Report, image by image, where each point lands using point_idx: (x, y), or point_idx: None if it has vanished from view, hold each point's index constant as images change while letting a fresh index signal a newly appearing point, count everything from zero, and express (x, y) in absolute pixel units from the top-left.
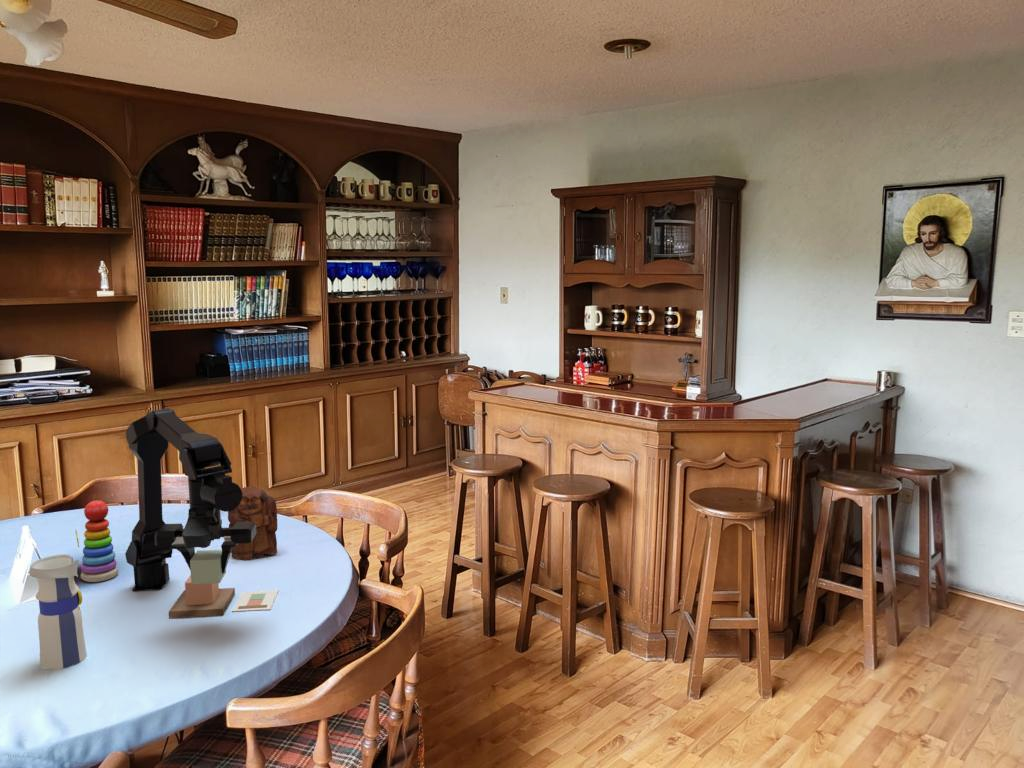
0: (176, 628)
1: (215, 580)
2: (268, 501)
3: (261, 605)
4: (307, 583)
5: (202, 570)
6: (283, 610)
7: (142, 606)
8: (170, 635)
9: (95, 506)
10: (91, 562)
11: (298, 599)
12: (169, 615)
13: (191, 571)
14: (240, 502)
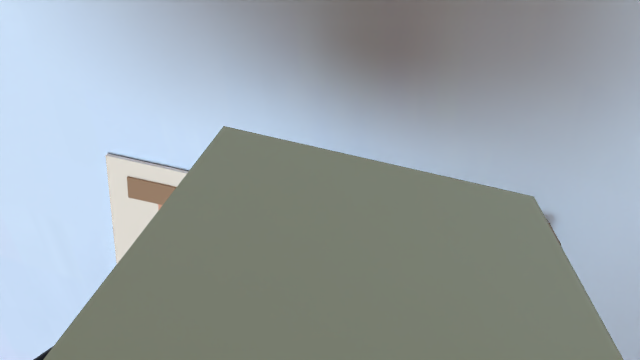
0: (536, 106)
1: (258, 153)
2: None
3: (152, 198)
4: (35, 315)
5: (413, 284)
6: (47, 129)
7: (626, 351)
8: (584, 28)
9: None
10: None
11: (20, 209)
12: (552, 230)
13: (588, 317)
14: None
